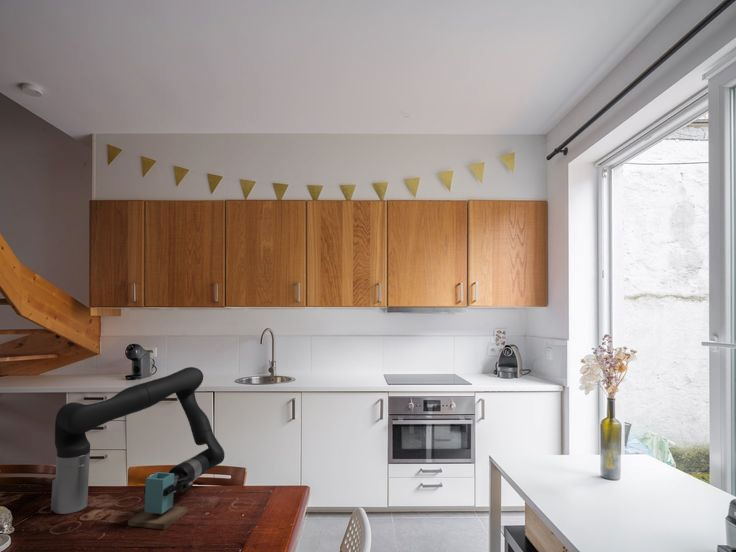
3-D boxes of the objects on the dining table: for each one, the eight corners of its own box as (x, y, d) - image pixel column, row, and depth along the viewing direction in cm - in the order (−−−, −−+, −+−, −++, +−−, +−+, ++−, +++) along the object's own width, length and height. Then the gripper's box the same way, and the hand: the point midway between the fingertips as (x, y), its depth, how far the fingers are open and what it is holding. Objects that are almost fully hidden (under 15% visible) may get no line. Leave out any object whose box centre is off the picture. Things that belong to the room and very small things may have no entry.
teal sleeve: (144, 512, 145) (145, 478, 146) (156, 504, 151) (157, 471, 151) (161, 513, 144) (163, 480, 145) (172, 506, 150) (174, 473, 150)
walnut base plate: (127, 525, 142) (128, 520, 143) (152, 508, 154) (153, 504, 154) (164, 529, 140) (164, 524, 140) (186, 512, 152) (187, 507, 152)
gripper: (166, 460, 163) (134, 477, 147) (205, 463, 161) (176, 481, 144) (165, 482, 163) (133, 502, 146) (204, 486, 160) (175, 507, 144)
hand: (154, 492), depth 145 cm, fingers closed on teal sleeve, 5 cm apart
